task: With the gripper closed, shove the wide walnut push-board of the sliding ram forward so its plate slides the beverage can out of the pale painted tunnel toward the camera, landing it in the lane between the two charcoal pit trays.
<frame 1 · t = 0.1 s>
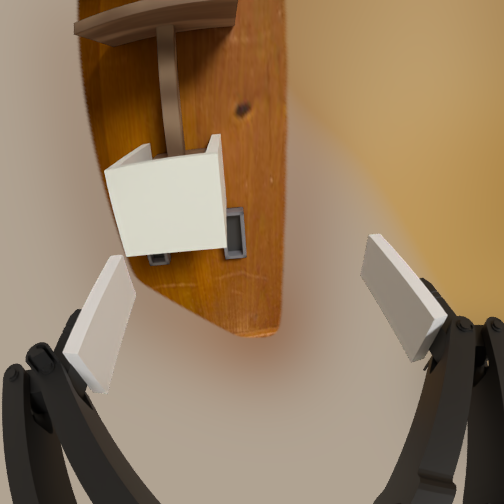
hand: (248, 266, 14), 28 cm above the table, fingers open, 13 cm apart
pit 1: (156, 238, 44), on the table
ram: (166, 88, 27), point 6 cm above the table, slide at 0.0 cm
tunnel: (184, 171, 39), on the table
pit 2: (233, 231, 45), on the table
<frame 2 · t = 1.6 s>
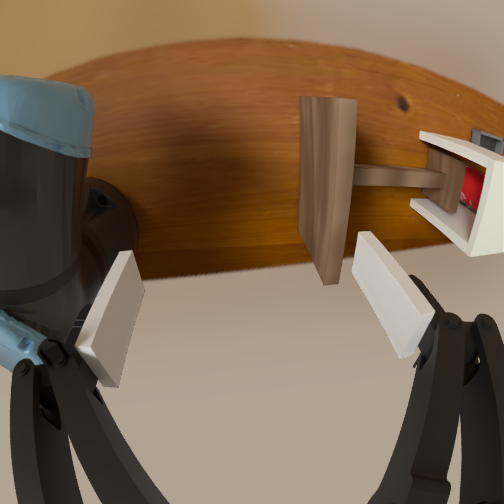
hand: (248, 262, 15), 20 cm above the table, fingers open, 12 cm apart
pit 1: (471, 209, 37), on the table
ram: (398, 181, 27), point 6 cm above the table, slide at 0.0 cm
beverage can: (445, 171, 34), on the table
tunnel: (439, 171, 33), on the table
pit 2: (484, 141, 31), on the table
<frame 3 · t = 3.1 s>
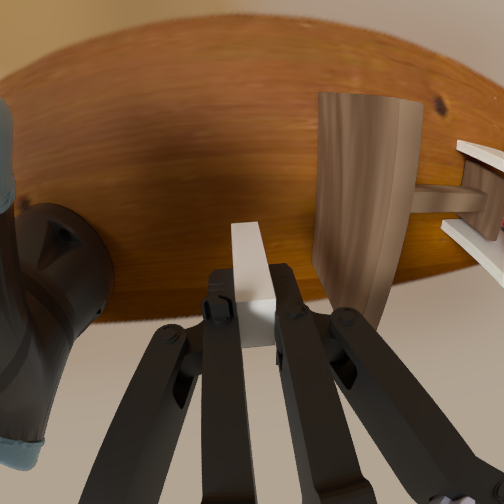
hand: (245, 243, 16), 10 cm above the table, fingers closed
ram: (442, 208, 20), point 6 cm above the table, slide at 0.0 cm
tunnel: (474, 187, 26), on the table
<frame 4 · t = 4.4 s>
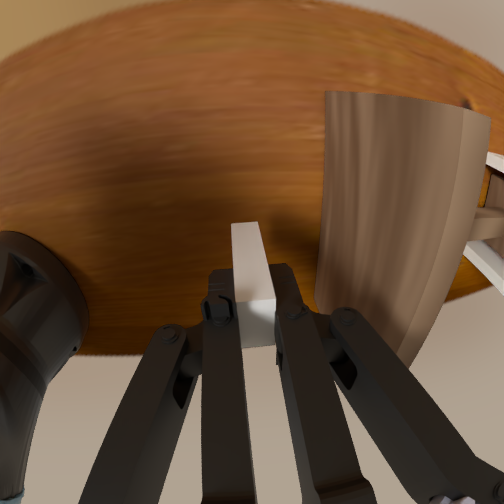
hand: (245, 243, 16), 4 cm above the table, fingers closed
ram: (472, 239, 15), point 6 cm above the table, slide at 0.0 cm
tunnel: (497, 204, 21), on the table
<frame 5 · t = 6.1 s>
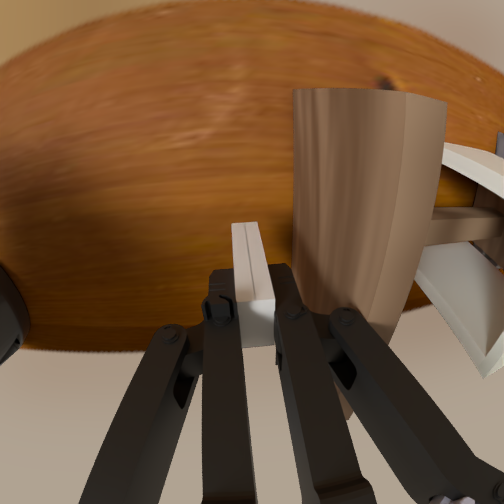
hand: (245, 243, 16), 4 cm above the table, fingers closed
pit 1: (488, 250, 25), on the table
ram: (453, 241, 15), point 6 cm above the table, slide at 7.0 cm, touching beverage can, hand
tunnel: (448, 203, 21), on the table
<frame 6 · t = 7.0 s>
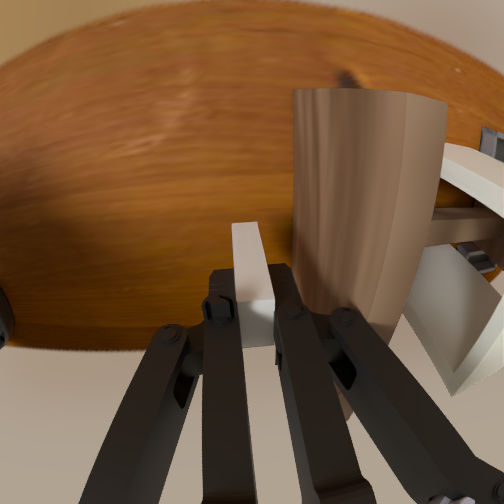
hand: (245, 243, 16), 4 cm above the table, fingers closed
pit 1: (474, 253, 25), on the table
ram: (453, 241, 15), point 6 cm above the table, slide at 10.2 cm, touching beverage can, hand
tunnel: (425, 203, 21), on the table
pit 2: (500, 148, 18), on the table
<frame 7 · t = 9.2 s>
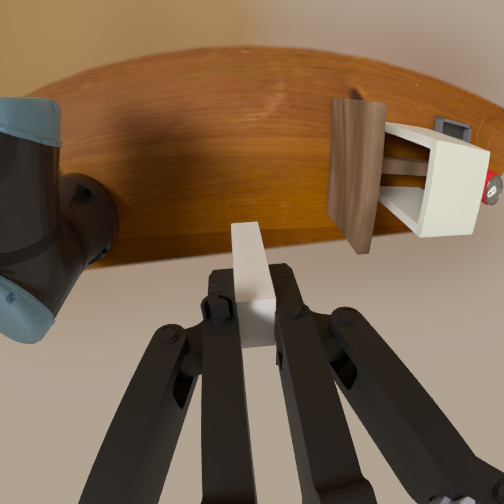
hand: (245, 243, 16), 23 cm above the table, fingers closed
ram: (412, 170, 32), point 6 cm above the table, slide at 10.4 cm, touching beverage can
beverage can: (446, 164, 38), on the table, touching ram
tunnel: (400, 159, 37), on the table
pit 2: (449, 129, 34), on the table
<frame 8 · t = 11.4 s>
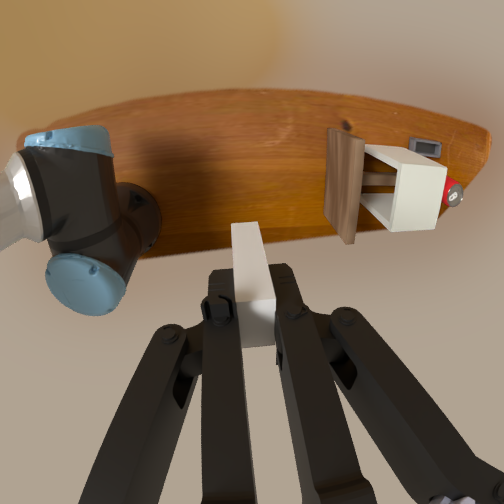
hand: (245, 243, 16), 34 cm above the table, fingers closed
ram: (388, 182, 45), point 6 cm above the table, slide at 10.4 cm, touching beverage can
beverage can: (420, 174, 51), on the table, touching ram
tunnel: (380, 172, 50), on the table
pit 2: (423, 146, 47), on the table
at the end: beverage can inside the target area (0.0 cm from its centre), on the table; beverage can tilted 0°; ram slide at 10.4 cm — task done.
